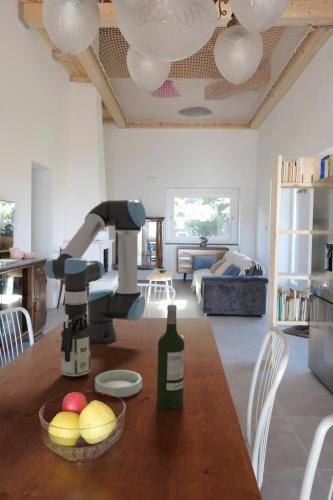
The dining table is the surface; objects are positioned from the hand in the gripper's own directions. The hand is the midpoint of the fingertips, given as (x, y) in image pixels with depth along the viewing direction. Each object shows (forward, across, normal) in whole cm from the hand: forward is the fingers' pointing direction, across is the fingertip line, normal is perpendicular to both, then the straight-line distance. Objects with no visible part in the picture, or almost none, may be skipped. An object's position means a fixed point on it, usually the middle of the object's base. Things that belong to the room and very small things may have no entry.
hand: (75, 364), depth 136 cm
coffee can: (+3, 0, 0) cm, 3 cm away
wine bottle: (+4, +12, +37) cm, 39 cm away
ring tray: (+4, +5, +18) cm, 19 cm away
